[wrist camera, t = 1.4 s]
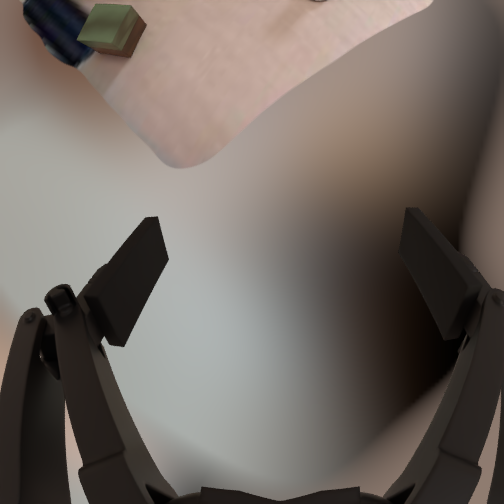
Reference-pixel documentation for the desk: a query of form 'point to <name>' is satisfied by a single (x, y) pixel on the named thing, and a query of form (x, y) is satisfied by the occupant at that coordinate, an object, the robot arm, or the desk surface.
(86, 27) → the block stack
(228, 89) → the desk surface
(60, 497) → the robot arm
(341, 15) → the desk surface
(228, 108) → the desk surface
